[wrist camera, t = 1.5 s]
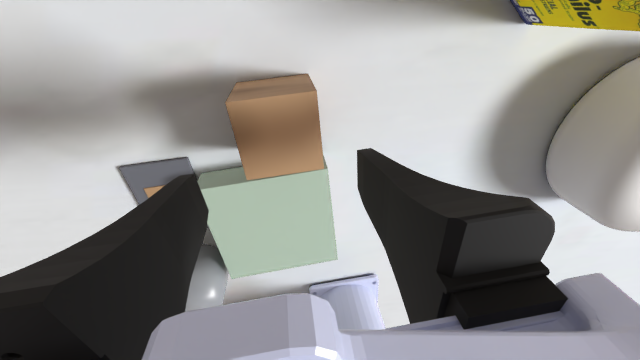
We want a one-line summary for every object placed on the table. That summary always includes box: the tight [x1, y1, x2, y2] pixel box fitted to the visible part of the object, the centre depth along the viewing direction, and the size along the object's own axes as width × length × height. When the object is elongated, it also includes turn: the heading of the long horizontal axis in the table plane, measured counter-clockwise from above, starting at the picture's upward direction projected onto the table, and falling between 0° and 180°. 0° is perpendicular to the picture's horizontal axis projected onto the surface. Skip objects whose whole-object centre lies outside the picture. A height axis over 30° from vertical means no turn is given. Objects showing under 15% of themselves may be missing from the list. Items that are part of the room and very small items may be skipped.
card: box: [119, 157, 209, 228], centre depth 23 cm, size 7×5×1 cm
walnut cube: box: [225, 74, 324, 180], centre depth 18 cm, size 5×5×5 cm
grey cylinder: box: [185, 245, 229, 312], centre depth 25 cm, size 5×5×5 cm
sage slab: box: [197, 156, 338, 279], centre depth 24 cm, size 10×10×3 cm
